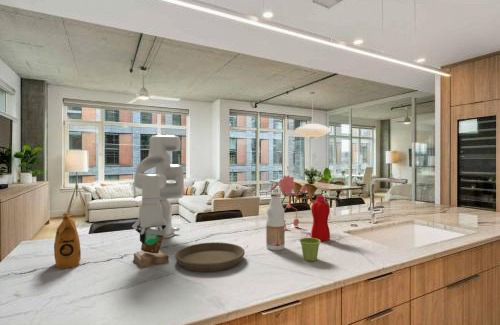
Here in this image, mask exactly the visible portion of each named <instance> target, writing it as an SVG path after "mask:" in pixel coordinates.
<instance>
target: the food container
mask: <svg viewBox="0 0 500 325" xmlns="http://www.w3.org/2000/svg"><path fill="white" fill-rule="evenodd" d="M163 236H165V231H161V230H155V228H151V227H150V228H145V231H144V238H145V243H142V242H141V247H140V250H141V252H144V251H145V252H150V253H158V252H159V249H161V246H162V243H163V242H162V241H163V239H164V238H163Z"/></svg>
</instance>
